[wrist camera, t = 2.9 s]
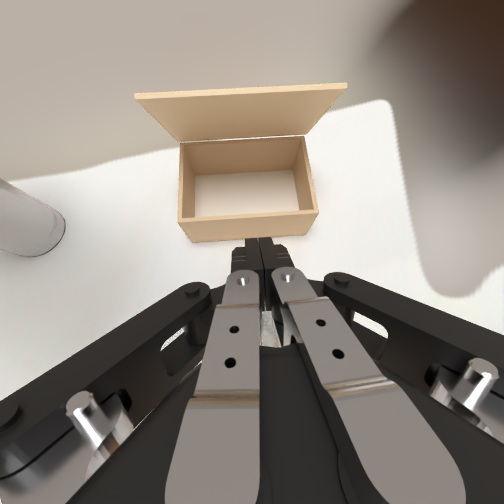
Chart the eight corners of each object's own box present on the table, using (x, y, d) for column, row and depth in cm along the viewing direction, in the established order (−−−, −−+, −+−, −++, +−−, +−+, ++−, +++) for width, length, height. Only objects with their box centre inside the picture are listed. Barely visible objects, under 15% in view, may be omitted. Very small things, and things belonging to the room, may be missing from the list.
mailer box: (192, 242, 39) (177, 222, 31) (192, 175, 43) (180, 143, 35) (305, 234, 39) (318, 212, 32) (294, 168, 44) (304, 135, 36)
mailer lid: (134, 99, 21) (133, 92, 21) (177, 141, 35) (177, 137, 35) (347, 88, 22) (347, 81, 22) (306, 134, 36) (306, 130, 36)
